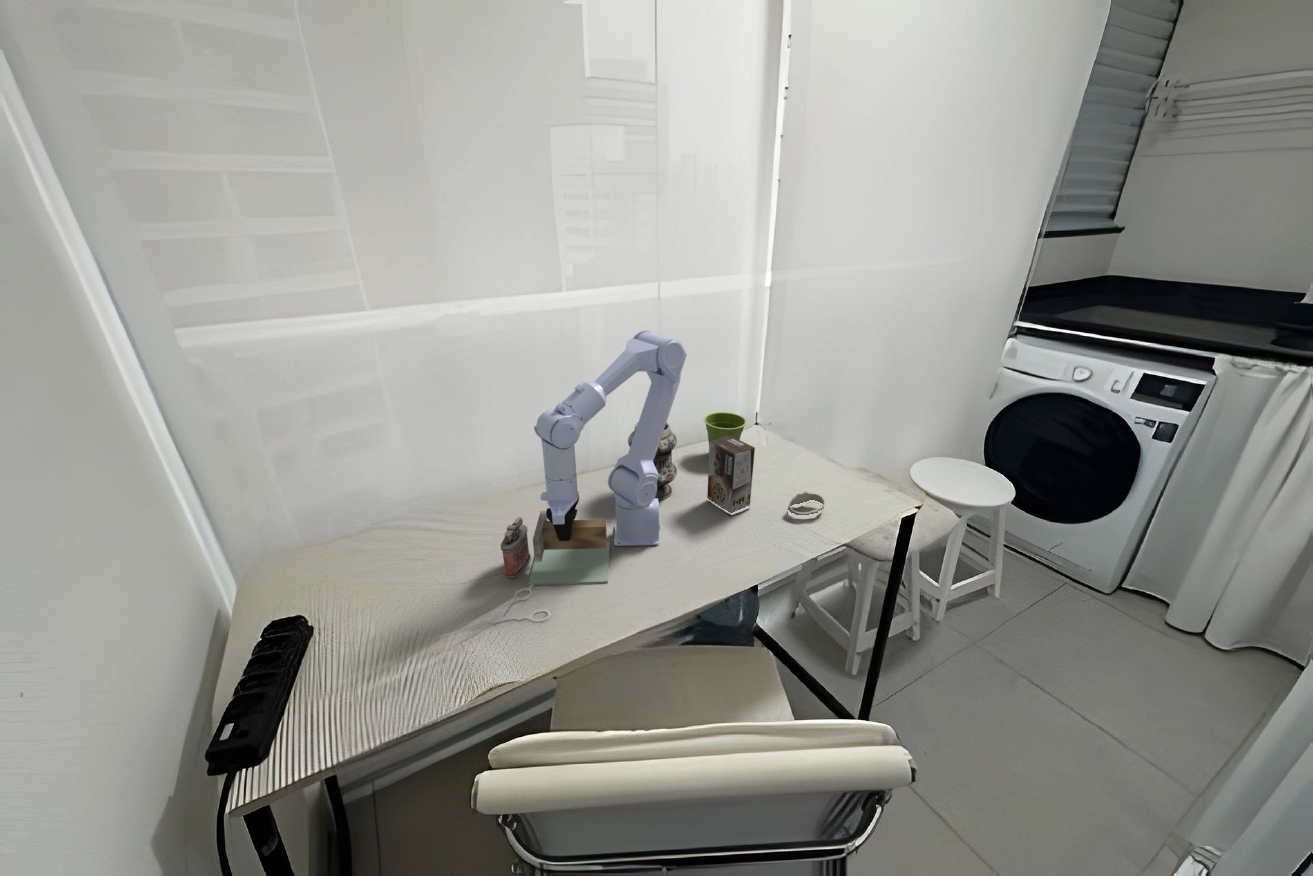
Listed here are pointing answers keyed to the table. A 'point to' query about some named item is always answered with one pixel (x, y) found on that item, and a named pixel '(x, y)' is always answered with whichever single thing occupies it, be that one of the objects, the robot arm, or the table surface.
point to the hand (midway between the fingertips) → (565, 535)
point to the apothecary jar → (663, 461)
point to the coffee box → (730, 473)
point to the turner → (582, 536)
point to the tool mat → (571, 567)
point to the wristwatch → (804, 498)
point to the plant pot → (724, 425)
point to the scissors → (500, 618)
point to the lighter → (515, 550)
